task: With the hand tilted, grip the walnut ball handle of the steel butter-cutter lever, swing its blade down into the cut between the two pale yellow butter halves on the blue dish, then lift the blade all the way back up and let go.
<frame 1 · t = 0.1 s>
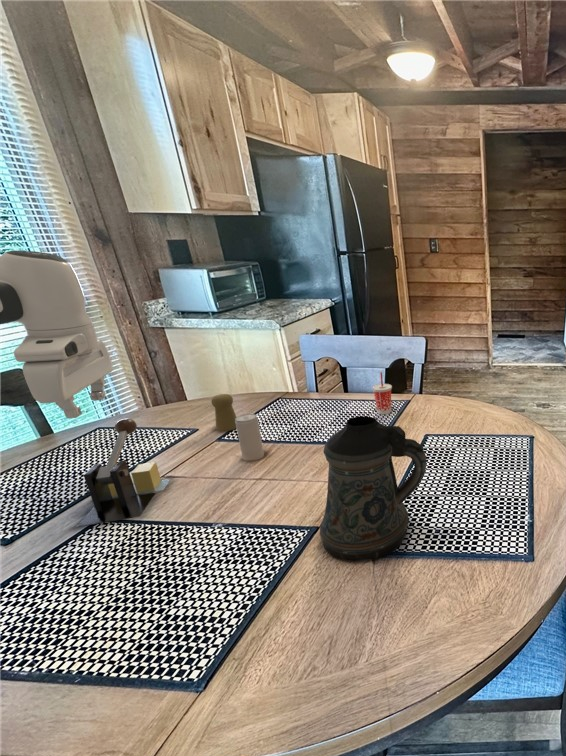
hand: (87, 407, 83), 22 cm above the table, tool pointing down, fingers open, 8 cm apart
beer stein: (374, 533, 84), on the table
cork: (228, 430, 124), on the table
lever: (117, 448, 88), point 12 cm above the table, hinge at 25.0°
beverage cup: (384, 412, 141), on the table
butter right: (149, 486, 94), point 1 cm above the table, touching butter dish
cutter: (120, 512, 87), on the table
beverage can: (254, 459, 109), on the table
butter left: (118, 491, 92), point 1 cm above the table, touching butter dish
butter dish: (135, 492, 93), on the table
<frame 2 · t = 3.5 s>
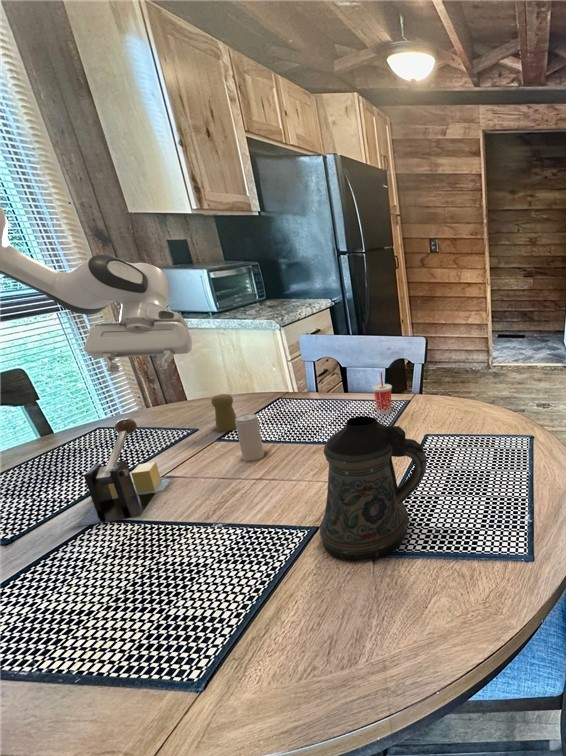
hand: (137, 369, 100), 24 cm above the table, tool tilted 45°, fingers open, 8 cm apart
nothing on the table moved.
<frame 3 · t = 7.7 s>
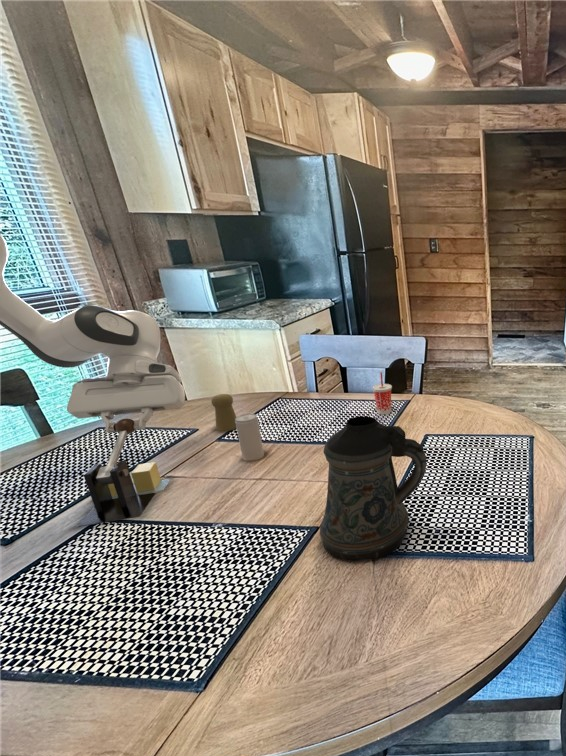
hand: (125, 430, 92), 14 cm above the table, tool tilted 45°, fingers closed on lever, 3 cm apart
lever: (117, 448, 88), point 12 cm above the table, hinge at 25.0°, touching gripper
everything else where it was.
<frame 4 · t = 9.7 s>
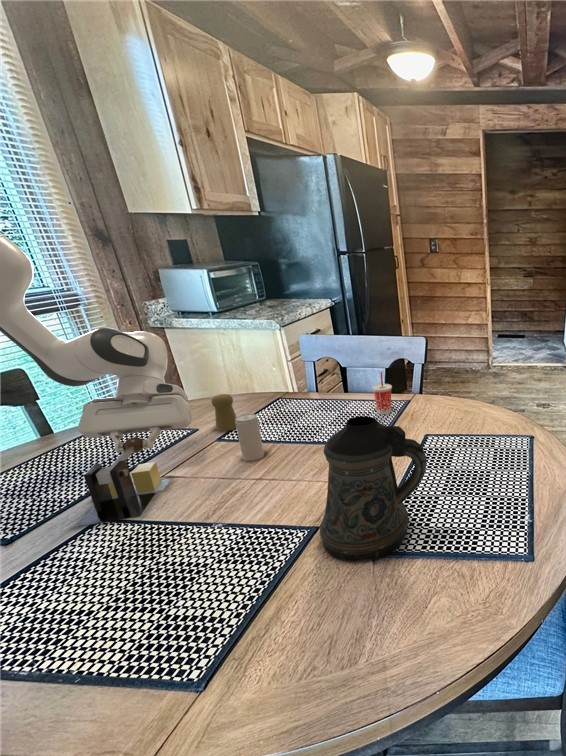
hand: (134, 449, 95), 8 cm above the table, tool tilted 45°, fingers closed on lever, 3 cm apart
lever: (122, 458, 90), point 9 cm above the table, hinge at 1.3°, touching gripper
everything else where it was.
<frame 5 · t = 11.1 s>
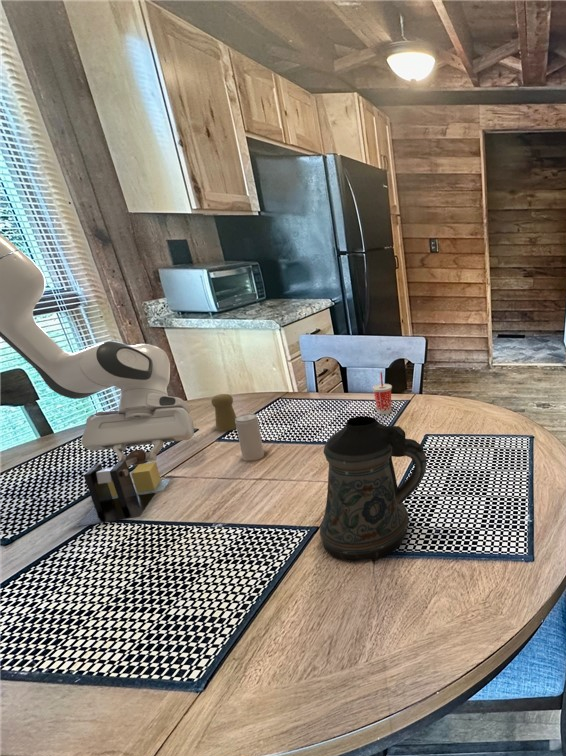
hand: (137, 462, 96), 5 cm above the table, tool tilted 45°, fingers closed on lever, 3 cm apart
lever: (124, 465, 90), point 8 cm above the table, hinge at -12.4°, touching gripper
everything else where it was.
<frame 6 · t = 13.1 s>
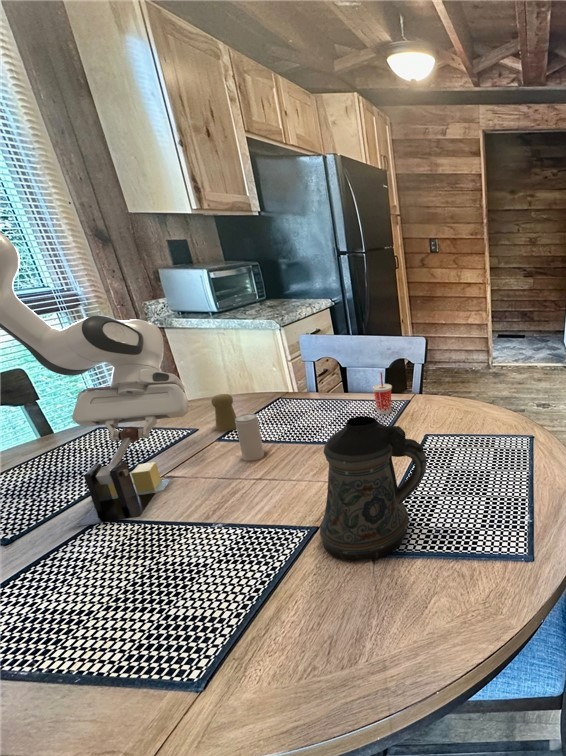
hand: (130, 438, 93), 11 cm above the table, tool tilted 45°, fingers closed on lever, 3 cm apart
lever: (120, 453, 89), point 11 cm above the table, hinge at 13.8°, touching gripper
everything else where it was.
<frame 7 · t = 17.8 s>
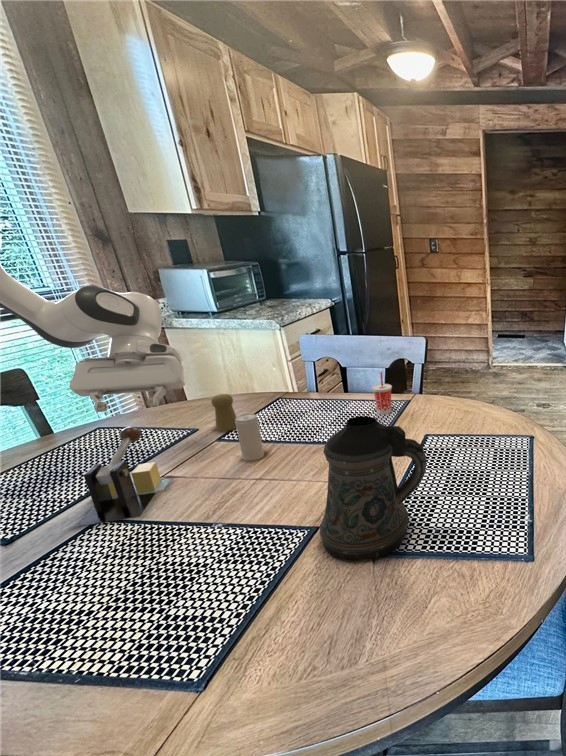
hand: (127, 408, 94), 18 cm above the table, tool tilted 45°, fingers open, 8 cm apart
lever: (120, 453, 89), point 11 cm above the table, hinge at 13.9°
everything else where it was.
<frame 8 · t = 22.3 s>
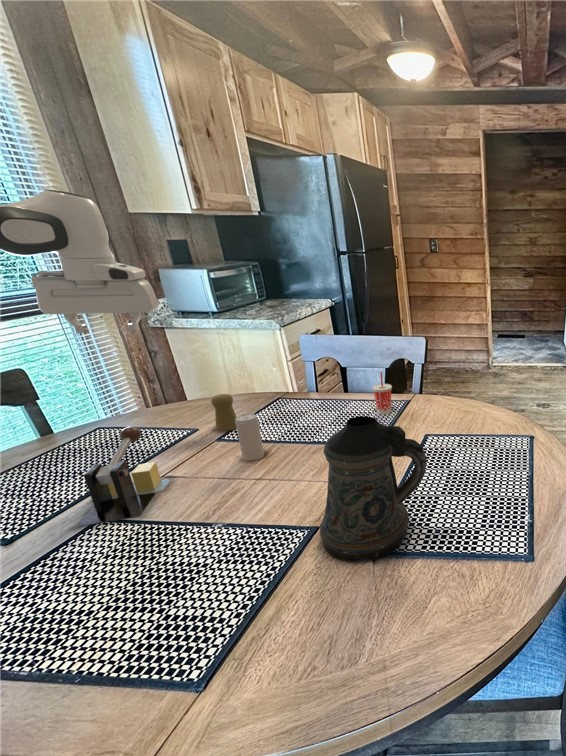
hand: (109, 332, 97), 33 cm above the table, tool pointing down, fingers open, 8 cm apart
nothing on the table moved.
at the end: lever reached -12° during the clip, +14° at the end; lever at +14° (first picture: +25°); butter right moved 0.0 cm from its start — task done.
